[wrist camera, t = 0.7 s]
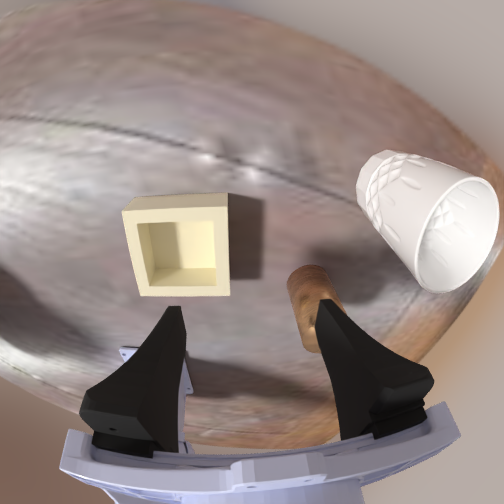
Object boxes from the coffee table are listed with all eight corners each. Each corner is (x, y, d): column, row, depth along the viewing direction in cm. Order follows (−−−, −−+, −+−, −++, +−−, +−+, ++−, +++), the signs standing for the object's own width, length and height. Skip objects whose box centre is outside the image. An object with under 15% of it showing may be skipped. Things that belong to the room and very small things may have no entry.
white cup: (342, 149, 19) (418, 188, 11) (420, 138, 19) (505, 171, 10) (352, 236, 23) (408, 309, 15) (421, 217, 23) (487, 274, 14)
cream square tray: (229, 274, 24) (230, 295, 22) (148, 275, 24) (140, 296, 21) (227, 192, 21) (227, 206, 18) (134, 197, 20) (121, 211, 17)
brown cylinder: (323, 297, 27) (345, 350, 21) (285, 299, 26) (299, 355, 20) (330, 264, 25) (358, 315, 19) (288, 265, 24) (306, 320, 18)
